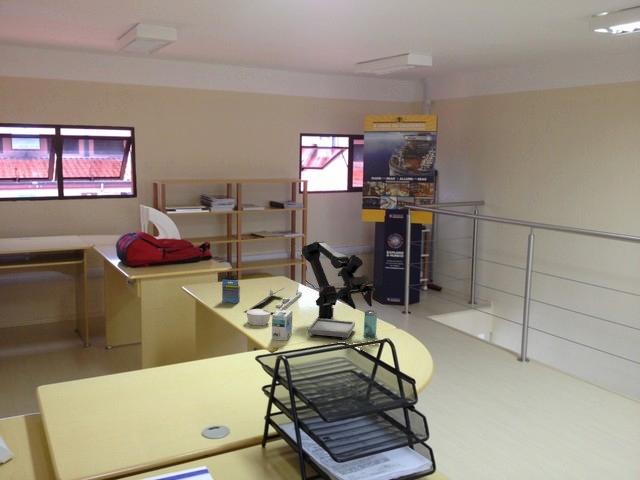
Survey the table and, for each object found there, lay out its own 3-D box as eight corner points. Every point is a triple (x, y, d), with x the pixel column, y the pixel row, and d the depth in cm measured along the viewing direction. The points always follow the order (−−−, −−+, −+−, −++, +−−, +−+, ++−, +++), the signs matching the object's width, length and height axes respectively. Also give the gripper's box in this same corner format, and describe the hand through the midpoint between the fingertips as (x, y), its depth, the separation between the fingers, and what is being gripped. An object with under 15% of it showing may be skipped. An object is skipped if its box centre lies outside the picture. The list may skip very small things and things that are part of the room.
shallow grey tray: (307, 337, 261) (307, 329, 261) (316, 326, 279) (316, 318, 278) (348, 341, 258) (348, 333, 257) (354, 329, 275) (354, 321, 275)
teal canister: (362, 337, 265) (363, 313, 263) (364, 333, 270) (365, 309, 268) (375, 338, 263) (376, 314, 262) (376, 334, 269) (378, 311, 267)
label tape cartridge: (240, 301, 319) (240, 278, 318) (238, 303, 315) (238, 280, 314) (223, 300, 320) (224, 278, 318) (221, 302, 316) (222, 279, 315)
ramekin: (275, 323, 281) (275, 312, 280) (255, 327, 274) (255, 316, 273) (261, 318, 289) (261, 307, 289) (241, 321, 282) (242, 311, 281)
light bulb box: (286, 340, 256) (286, 316, 254) (271, 339, 257) (271, 315, 256) (292, 333, 266) (293, 310, 265) (277, 332, 268) (278, 308, 266)
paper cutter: (301, 296, 337) (302, 286, 336) (276, 316, 294) (277, 305, 293) (271, 293, 341) (271, 284, 341) (242, 313, 298) (242, 302, 298)
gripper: (341, 270, 266) (355, 300, 259) (373, 267, 277) (388, 295, 269) (330, 284, 274) (343, 313, 266) (362, 280, 284) (375, 308, 277)
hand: (363, 307), depth 269 cm, fingers open, 9 cm apart
